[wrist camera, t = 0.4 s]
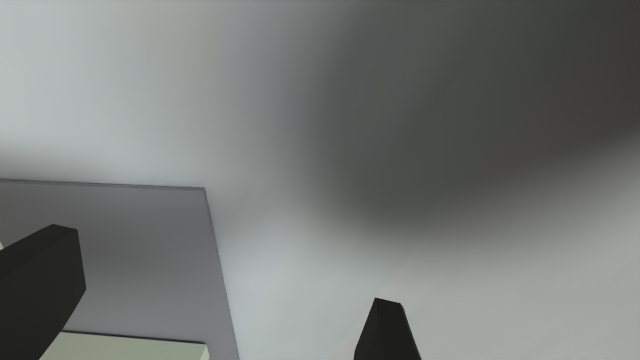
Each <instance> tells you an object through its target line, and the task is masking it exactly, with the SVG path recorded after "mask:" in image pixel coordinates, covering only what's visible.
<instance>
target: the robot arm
mask: <svg viewBox="0 0 640 360" xmlns="http://www.w3.org/2000/svg"><path fill="white" fill-rule="evenodd" d="M86 290H87V289H86V282H85V275H84V269H83V262H82V255H81V249H80V242H79V235H78V229H74V228H69V227H65V226H61V225H56V224H51V225H49V226H47V227H45V228H42V229H40V230H38V231H36V232H34V233H32V234H30V235H28V236H26V237H25V238H23V239H21V240H19V241H17V242H15V243H13V244H11V245H9V246H7V247H5V248H3V249H1V250H0V360H39V359H40V358H41V357H42V355H43V354H44V353H45V351H46V350H47V349H48V348H49V346H50V345H51V344H52V342H53V341H54V340H55V338H56V337H57V336H58V335H59V333H60V332H61V331H62V329H63V328H64V326H65V325H66V323H67V321H68V320H69V318H70V317H71V315H72V313H73V312H74V310H75V308H76V307H77V305H78V303H79V302H80V300H81V298H82V296H83V295H84V293H85V291H86ZM354 360H421V357H420V354H419V352H418V349H417V346H416V344H415V341H414V338H413V335H412V332H411V330H410V327H409V324H408V321H407V318H406V315H405V311H404V308H403V307H402V305H401V304H400V303H397V302H392V301H388V300H384V299H379V298H375V299H374V302H373V305H372V307H371V310H370V312H369V315H368V318H367V320H366V323H365V325H364V328H363V331H362V333H361V336H360V338H359V341H358V344H357V346H356V349H355V353H354Z"/></svg>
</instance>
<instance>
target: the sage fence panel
mask: <svg viewBox="0 0 640 360" xmlns="http://www.w3.org/2000/svg"><path fill="white" fill-rule="evenodd" d="M209 357H210V356H209V353H208V349H207V345H205V344H193V343H182V342H170V341H158V340H147V339H135V338H123V337H112V336H100V335H88V334H76V333H65V332H60V333H59V335H58V336H57V337H56V338H55V340H54V341H53V342H52V344H51V345H50V346H49V348H48V349H47V350H46V351H45V353H44V354H43V355H42V357H41V358H40V359H39V360H208V359H209Z"/></svg>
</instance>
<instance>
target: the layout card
mask: <svg viewBox="0 0 640 360" xmlns="http://www.w3.org/2000/svg"><path fill="white" fill-rule="evenodd" d="M51 224H56V225H61V226H65V227H69V228H74V229H78V235H79V242H80V249H81V255H82V262H83V269H84V275H85V282H86V289H87V290H86V291H85V293H84V295H83V296H82V298H81V300H80V302H79V303H78V305H77V307H76V308H75V310H74V312H73V313H72V315H71V317H70V318H69V320H68V321H67V323H66V325H65V326H64V328H63V329H62V331H61V332H65V333H76V334H88V335H100V336H112V337H123V338H135V339H147V340H158V341H170V342H182V343H193V344H205V345H207V349H208V353H209V356H210V357H209V359H208V360H240V359H239V354H238V349H237V344H236V339H235V334H234V330H233V325H232V320H231V315H230V310H229V305H228V300H227V295H226V290H225V285H224V281H223V276H222V271H221V266H220V261H219V256H218V251H217V246H216V241H215V236H214V232H213V227H212V222H211V217H210V212H209V207H208V202H207V197H206V192H205V188H192V187H168V186H144V185H120V184H95V183H71V182H47V181H23V180H0V250H1V249H3V248H5V247H7V246H9V245H11V244H13V243H15V242H17V241H19V240H21V239H23V238H25V237H26V236H28V235H30V234H32V233H34V232H36V231H38V230H40V229H42V228H45V227H47V226H49V225H51Z"/></svg>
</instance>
